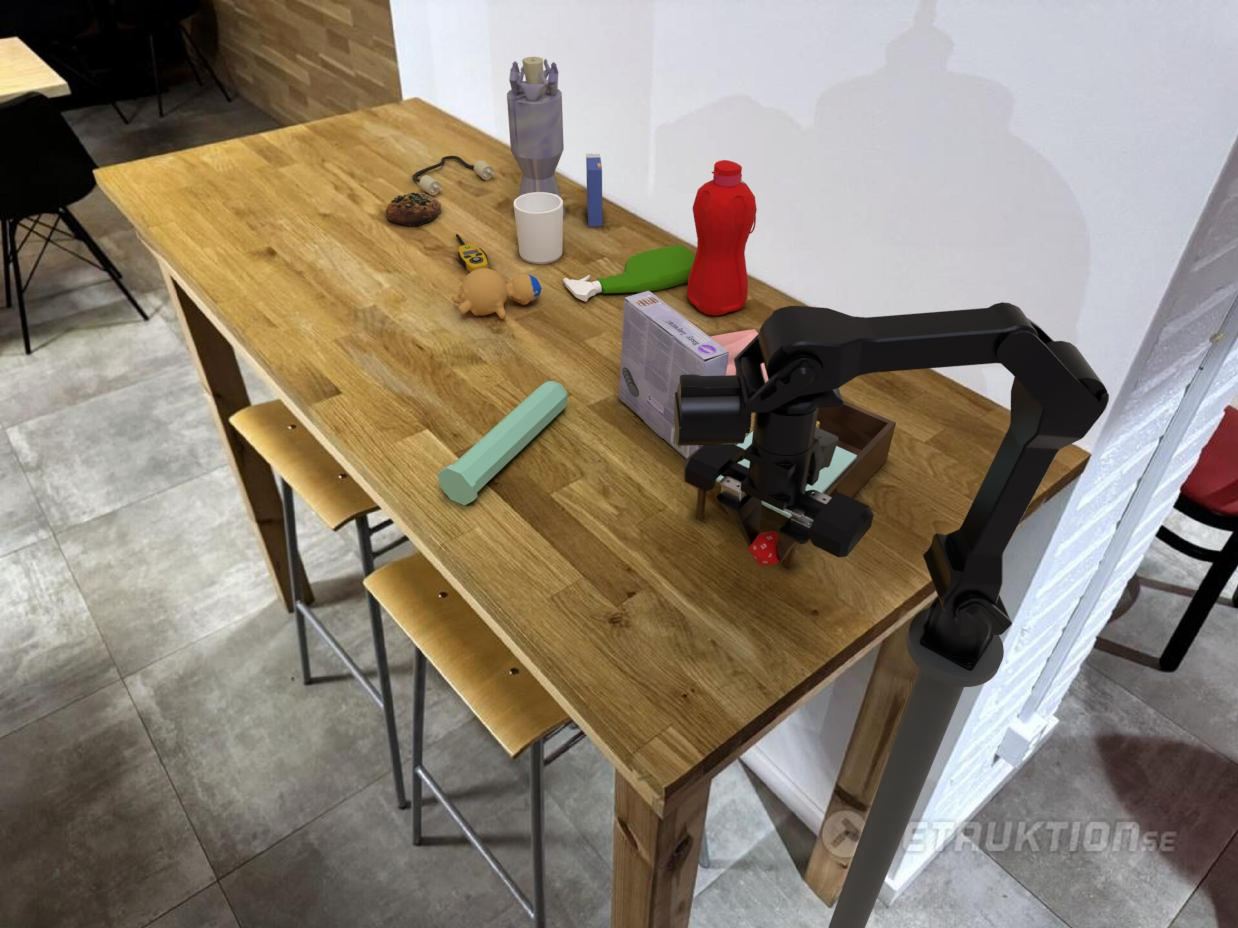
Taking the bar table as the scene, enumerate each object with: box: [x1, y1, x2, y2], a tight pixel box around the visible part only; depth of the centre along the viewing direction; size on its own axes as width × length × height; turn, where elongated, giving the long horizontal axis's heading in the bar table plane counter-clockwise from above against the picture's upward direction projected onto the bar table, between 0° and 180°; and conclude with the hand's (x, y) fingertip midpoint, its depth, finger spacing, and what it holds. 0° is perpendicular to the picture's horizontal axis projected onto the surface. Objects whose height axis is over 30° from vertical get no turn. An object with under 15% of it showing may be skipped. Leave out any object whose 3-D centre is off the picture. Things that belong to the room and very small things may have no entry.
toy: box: [451, 268, 543, 320], centre depth 156 cm, size 10×8×15 cm
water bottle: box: [686, 159, 758, 317], centre depth 152 cm, size 9×11×25 cm
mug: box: [513, 192, 564, 265], centre depth 171 cm, size 11×9×10 cm
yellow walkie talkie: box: [455, 233, 489, 273], centre depth 172 cm, size 5×2×15 cm
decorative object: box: [506, 56, 567, 217], centre depth 177 cm, size 10×10×30 cm
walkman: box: [585, 153, 603, 228], centre depth 181 cm, size 8×3×12 cm, turn 4°
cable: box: [412, 155, 495, 196], centre depth 198 cm, size 16×16×4 cm
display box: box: [695, 399, 897, 569], centre depth 121 cm, size 14×26×7 cm, turn 141°
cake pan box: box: [618, 291, 729, 461], centre depth 128 cm, size 19×5×18 cm, turn 34°
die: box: [748, 530, 779, 567], centre depth 97 cm, size 4×3×4 cm
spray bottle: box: [562, 244, 696, 303], centre depth 165 cm, size 3×11×24 cm
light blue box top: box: [716, 421, 857, 519], centre depth 115 cm, size 13×15×3 cm
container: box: [437, 380, 568, 506], centre depth 128 cm, size 6×6×25 cm
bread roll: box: [385, 191, 442, 228], centre depth 185 cm, size 11×11×5 cm
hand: (767, 552), depth 97 cm, fingers closed on die, 3 cm apart
